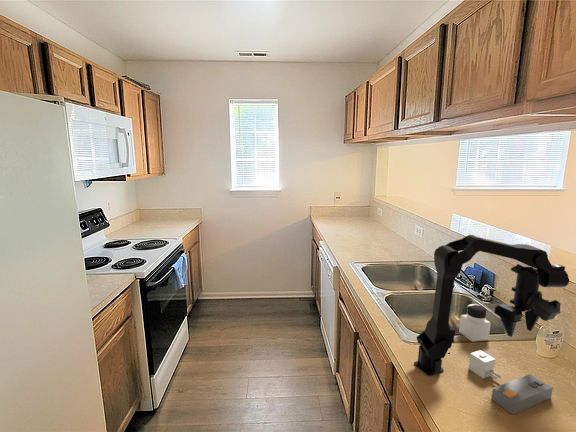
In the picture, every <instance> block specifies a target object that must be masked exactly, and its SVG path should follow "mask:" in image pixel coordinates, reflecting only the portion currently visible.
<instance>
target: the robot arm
mask: <svg viewBox="0 0 576 432" xmlns="http://www.w3.org/2000/svg"><path fill="white" fill-rule="evenodd" d="M479 252H483V253H486V254H491V255H495V256H499V257H503V258H507V259H513V260H515V261H517V262H520V263H522V264H524V265H526V266H523V265H522V264H519V263H518V264H515V266H512V267H511V268H510V271H512V272H514V273H516V274H517V275H516V281H515V286H512V287H511V291H513V293H514V294H513V298H510V299H509V304H508V303H502V304H497V305H495V306H494V311H493V313H494V314H495V315H497V316H498V317H499V319H500V320H501V323H502V325H503V327H504V329H505V332H506V334H507V336H509V337H510V338H512V337H513V335H514V333H515V332H514V331H515V329H516V326H517V323H520V322H522V321H523V320H522V318H523V313H524V317H525V318H524V319H525V324H526V330H528V331H529V332H531V331H533V329H534V327H535V326H536V324H537V322H538V321H539V319H540V320H541V321H545V322H548V321H551V320H554V319H555V317H556V316H557V315H560V314H561V306H562V305H561V304H562V303H561V302H560V301H558V300H557V299H554V300H551V301H549V300H548V299H544V298H543V293H542V291H539V289H540V286H541V287H542V288H566V287H567V286H568V285H569V283H570V277H569V274H568V272H567V271H566V267H565V266H564V265H563V264H562V265H561V264H559V263H558V264H557V263H556V264H552V263H551V261H550V260H549V256H548V252H547V251H546V250H543V249H541V248H538V247H536V246H533V245H530V244H527V243H526V244H525V243H516V244H509V243H505V242H500V241H497V240H492V239H488V238H484V237H480V236H476V235H474V234H469V235H466V236H464V237H463V238H460V239H456V240H453V241H450V242H448V243H446V244H444V245H441V246H438V248H436V249H434V253H433V257H434V258H433V259H434V261H433V262H434V267H435V271H436V275H437V277H436V283H435V285H436V286H435V291H434V299H433V300H434V301H433V307H432V315H431V318H430V319H429V320H428V321H427V323H426V326H425V328H424V330H423V331H422V332H421V333H420V334H419V335H417V336H416V341H417V344H419V347H418V355H417V361H414V362H413V365H414V366H416V367H417V368H418V369H419V370H420V371H422V372H423V373H424V374H425V375H427V376H432V375H436V374H438V373H441V372H444V371H445V370H444V368H443V367H442V365H443V364H442V363H443V360H442V359H444V358H445V357H446V355H447V353H448V350H449V349H451V347H452V346H453V344H454V343H455V340H454V339H455V334H456V330H455V328H453V326H451V324H450V323H449V322H450V314H451V307H452V300H453V299H452V298H453V295H454V294H453V291H454V288H455V287H454V285H455V279H456V278H457V277H458V275H459V274H460V273H461V271H462V267H463V265H464V264H465V263H468V262H470V261H471V260H472V258H473V257H474V256H475V255H476V254H478V253H479ZM511 304H512V305H511Z"/></svg>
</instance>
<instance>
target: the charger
mask: <svg viewBox="0 0 576 432" xmlns="http://www.w3.org/2000/svg"><path fill="white" fill-rule="evenodd" d="M469 356H470V357H469V364H468V369H469V370H470V371H472V372H473V373H475V374H476V375H478V376H479V378H482V379H485V378H488V377H491V378H492V379H494V380H495V381H497V379H501V378H502V375H500V374H499V373H498V372H496V371H495V365H496V358H494V357H493V356H491V355H489V354H488V353H486V352H484V351H483V350H481V349H480V350H476V351H473V352H470V355H469Z"/></svg>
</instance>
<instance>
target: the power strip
mask: <svg viewBox="0 0 576 432" xmlns="http://www.w3.org/2000/svg"><path fill="white" fill-rule="evenodd" d="M552 393H553V386H551V385H550V384H549V383H546V382H544V381H543V380H541V379H540V378H538V377H536V376H534V375H533V374H531V373H530V374H527V375H524V376H521V377H518V378H516V379H514V380H511V381H508V382H505V383H503V384H499V385H497V386H495V387H492V393H491V400H492V401H493V402H495V403H496V404H497V405H498V406H500V407H501V408H503V409H504V410H506V411H507V412H508V413H510V414H511V415H515V414H517V413H520V412H523V411H525V410H527V409H529V408H531V407H533V406H536V405H538V404H541V403H543V402H545V401H547V400H550V399H551V398H552Z"/></svg>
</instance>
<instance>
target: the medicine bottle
mask: <svg viewBox="0 0 576 432" xmlns="http://www.w3.org/2000/svg"><path fill="white" fill-rule="evenodd" d="M486 316H487V309H486V307H485V306H482V305H480V304H478V303H471V304H468V305H467V309H466V314H461V315H460V321H459V329H458V332H459V333H460V334H461V335H463V337H465V338H467V340H469V341H470V342H471V343H472V342H482V341H483V342H484V341H489V338H490V333H491V332H490V331H491V325H492V322H490V321H489V320H488V319H486V318H487V317H486Z"/></svg>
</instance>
